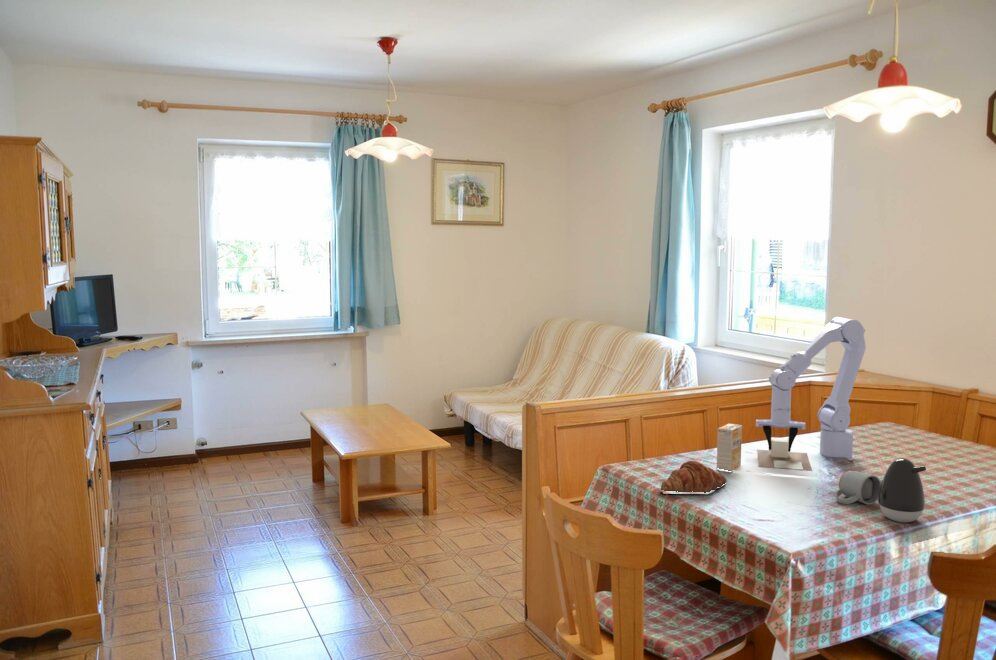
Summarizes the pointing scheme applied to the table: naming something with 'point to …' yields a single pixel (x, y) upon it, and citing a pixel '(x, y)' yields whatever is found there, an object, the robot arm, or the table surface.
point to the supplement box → (729, 446)
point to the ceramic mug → (858, 488)
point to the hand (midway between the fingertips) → (779, 450)
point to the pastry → (693, 479)
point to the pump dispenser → (902, 491)
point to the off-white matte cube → (779, 447)
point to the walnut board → (784, 461)
